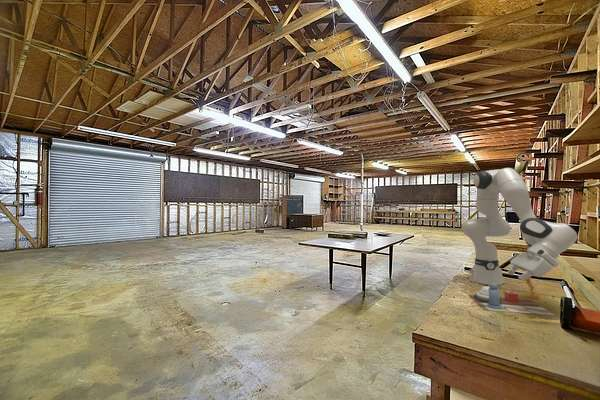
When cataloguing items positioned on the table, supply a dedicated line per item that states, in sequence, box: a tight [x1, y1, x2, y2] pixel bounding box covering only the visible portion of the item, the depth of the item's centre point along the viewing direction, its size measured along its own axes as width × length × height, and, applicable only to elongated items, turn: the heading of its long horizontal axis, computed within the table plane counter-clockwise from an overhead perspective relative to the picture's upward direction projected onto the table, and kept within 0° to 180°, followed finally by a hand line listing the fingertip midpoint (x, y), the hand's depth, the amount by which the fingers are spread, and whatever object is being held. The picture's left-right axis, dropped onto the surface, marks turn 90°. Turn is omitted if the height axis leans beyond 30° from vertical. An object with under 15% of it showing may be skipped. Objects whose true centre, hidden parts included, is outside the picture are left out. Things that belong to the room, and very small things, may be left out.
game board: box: [467, 293, 557, 320], centre depth 123 cm, size 22×26×2 cm
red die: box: [504, 290, 520, 303], centre depth 127 cm, size 4×4×4 cm
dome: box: [475, 285, 490, 300], centre depth 130 cm, size 9×9×5 cm
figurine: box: [524, 276, 541, 300], centre depth 132 cm, size 8×6×12 cm
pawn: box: [487, 283, 502, 309], centre depth 120 cm, size 5×5×11 cm
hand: (514, 276), depth 118 cm, fingers open, 8 cm apart
